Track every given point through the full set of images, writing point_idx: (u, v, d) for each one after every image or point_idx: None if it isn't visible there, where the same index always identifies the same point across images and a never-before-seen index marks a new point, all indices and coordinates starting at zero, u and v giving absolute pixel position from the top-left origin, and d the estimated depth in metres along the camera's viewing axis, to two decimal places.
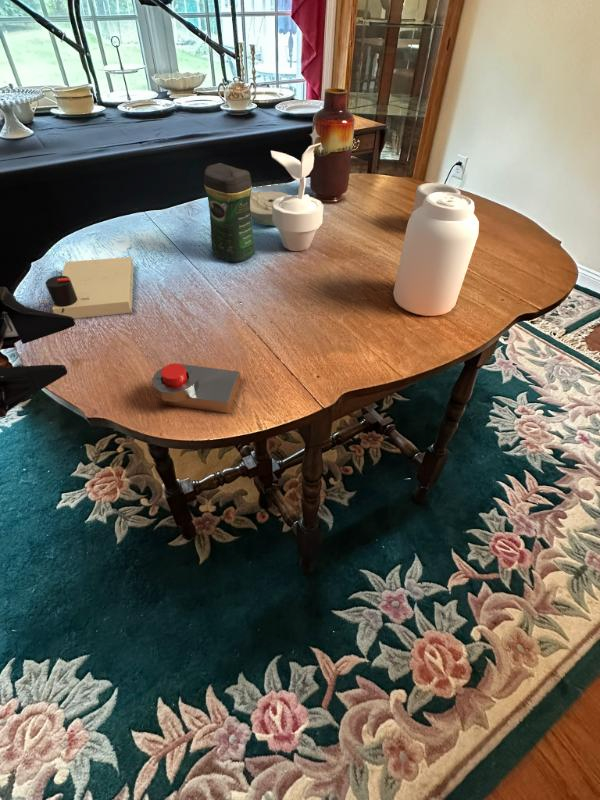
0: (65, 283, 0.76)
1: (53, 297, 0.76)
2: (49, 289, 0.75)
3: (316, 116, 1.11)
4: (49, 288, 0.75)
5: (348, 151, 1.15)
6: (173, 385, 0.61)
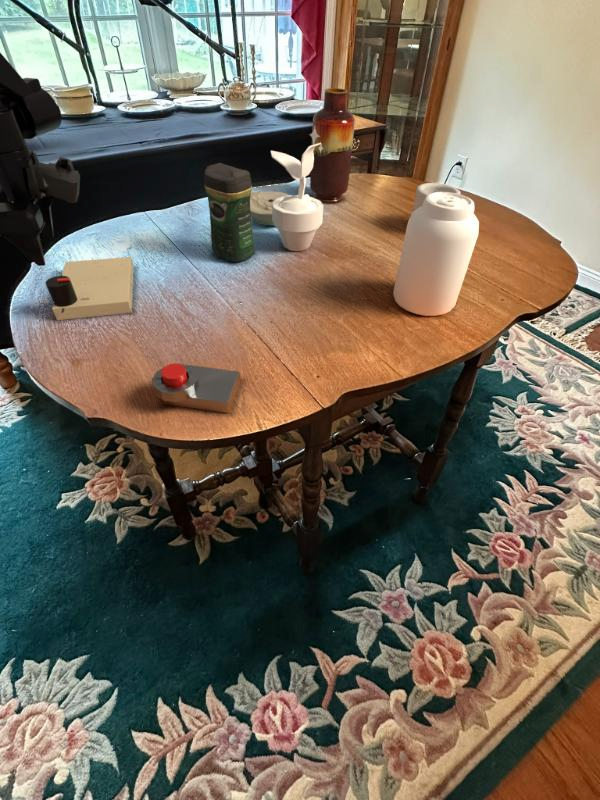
0: (65, 283, 0.76)
1: (53, 297, 0.76)
2: (49, 289, 0.75)
3: (316, 116, 1.11)
4: (49, 288, 0.75)
5: (348, 151, 1.15)
6: (173, 385, 0.61)
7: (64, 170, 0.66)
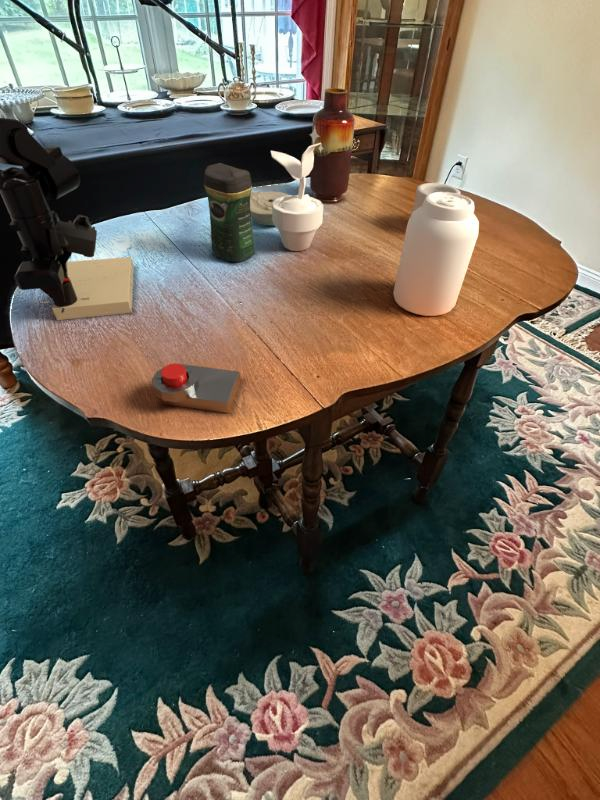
0: (65, 283, 0.76)
1: None
2: None
3: (316, 116, 1.11)
4: None
5: (348, 151, 1.15)
6: (173, 385, 0.61)
7: (82, 227, 0.72)
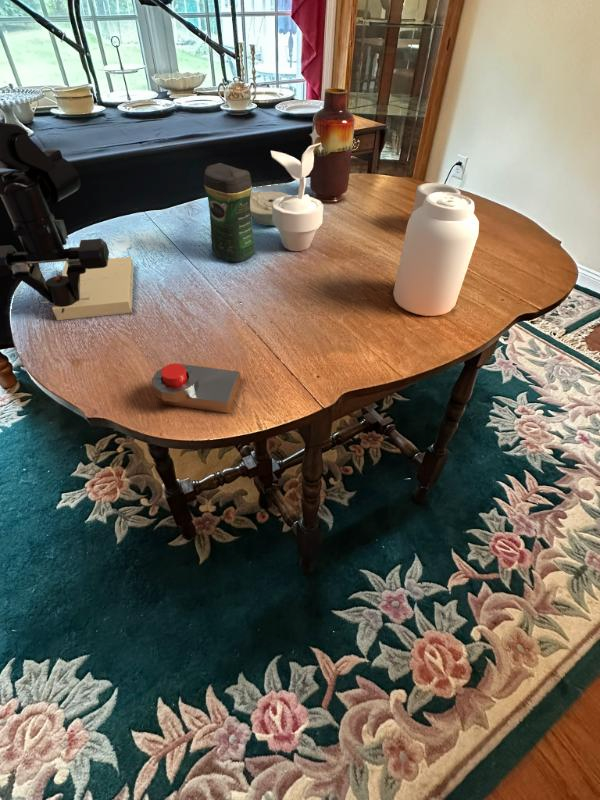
0: (65, 276, 0.77)
1: (70, 295, 0.77)
2: (66, 287, 0.76)
3: (316, 116, 1.11)
4: (66, 287, 0.76)
5: (348, 151, 1.15)
6: (173, 385, 0.61)
7: None
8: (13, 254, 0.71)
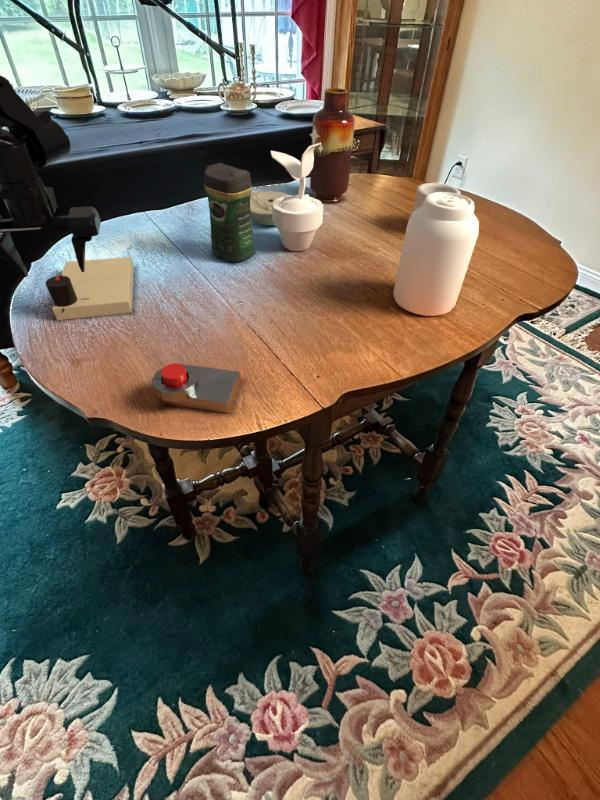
0: (65, 276, 0.77)
1: (70, 295, 0.77)
2: (66, 287, 0.76)
3: (316, 116, 1.11)
4: (66, 287, 0.76)
5: (348, 151, 1.15)
6: (173, 385, 0.61)
7: None
8: None
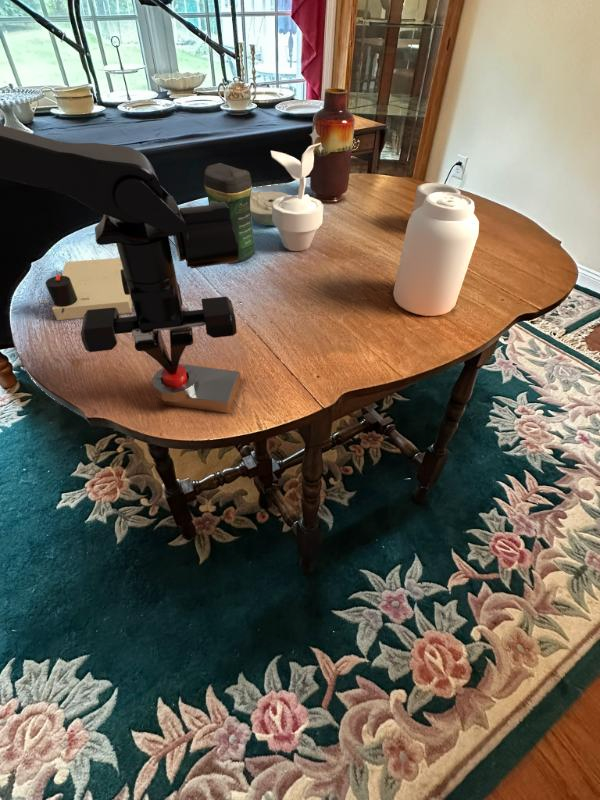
0: (65, 276, 0.77)
1: (70, 295, 0.77)
2: (66, 287, 0.76)
3: (316, 116, 1.11)
4: (66, 287, 0.76)
5: (348, 151, 1.15)
6: (173, 386, 0.62)
7: None
8: (119, 320, 0.54)
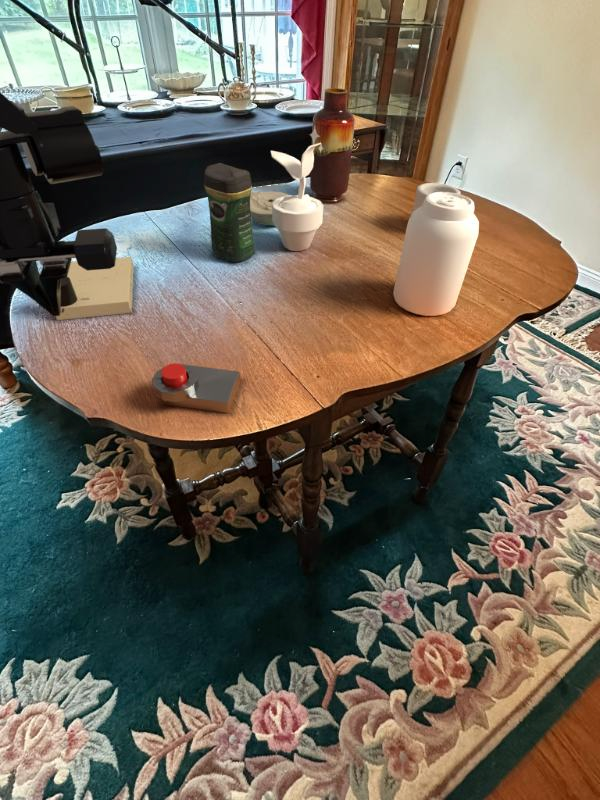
0: None
1: (70, 295, 0.77)
2: (66, 287, 0.76)
3: (316, 116, 1.11)
4: (66, 287, 0.76)
5: (348, 151, 1.15)
6: (173, 385, 0.61)
7: None
8: None
